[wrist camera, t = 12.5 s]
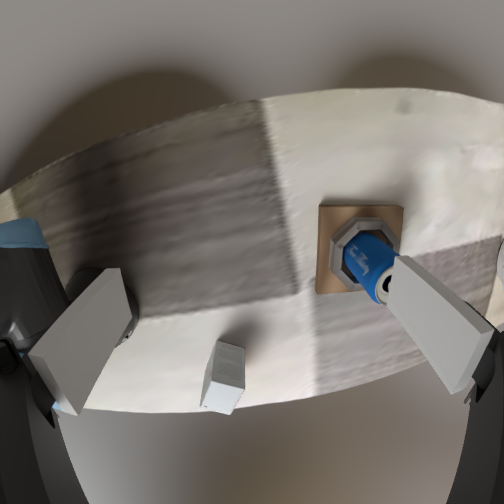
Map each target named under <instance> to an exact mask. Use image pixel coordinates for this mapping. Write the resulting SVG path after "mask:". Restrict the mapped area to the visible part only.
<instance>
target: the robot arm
mask: <svg viewBox="0 0 504 504" xmlns="http://www.w3.org/2000/svg"><path fill="white" fill-rule="evenodd" d="M386 306H387V307H388V308H389V310H390V311H391V312H392V313H393V315H394V316H395V317H396V318H397V320H398V321H399V322H400V324H401V325H402V326H403V328H404V329H405V330H406V331H407V333H408V334H409V335H410V337H411V338H412V339H413V341H414V342H415V343H416V345H417V346H418V348H419V349H420V350H421V352H422V353H423V354H424V356H425V357H426V359H427V360H428V361H429V363H430V364H431V366H432V367H433V368H434V370H435V371H436V373H437V374H438V376H439V377H440V379H441V380H442V381H443V383H444V384H445V386H446V387H447V389H448V390H449V392H450V393H451V394H454V393H456V392H459V391H461V390H463V389H465V388H466V386H467V384H468V383H469V381H470V379H471V377H472V378H473V379H474V380H475V384H474V386H473V388H472V389H471V391H470V392H469V394H468V396H467V397H466V399H465V401H464V403H465V404H466V403H467V401H468V399H470V398H471V402H470V404H469V405H470V411H469V417H468V424H467V430H466V435H465V440H464V444H463V449H462V453H461V457H460V462H459V465H458V469H457V472H456V476H455V479H454V482H453V486H452V489H451V491H450V494H449V497H448V500H447V503H446V504H504V331H502V332H501V333H500V332H499V331H498V330H497V329H496V328H495V327H494V326H493V325H492V324H491V323H490V322H489V321H488V320H486V319H485V318H484V317H483V316H481V314H480V313H479V312H478V311H477V310H476V311H475V309H474V308H473V307H472V306H471V305H470V304H469V303H467V302H465V301H464V300H462V299H461V298H460V297H458V296H457V295H456V294H455V293H454V292H453V291H451V290H450V289H449V288H448V287H447V286H445V285H444V284H443V283H442V282H441V281H439V280H438V279H437V278H436V277H434V276H433V275H432V274H431V273H429V272H428V271H427V270H426V269H424V268H423V267H422V266H421V265H419V264H418V263H417V262H415V261H414V260H413V259H412V258H410V257H409V256H408V255H407V256H395V260H394V266H393V272H392V278H391V284H390V289H389V294H388V299H387V304H386ZM138 318H139V312H138V306H137V303H136V300H135V298H134V296H133V294H132V293H131V291H130V290H129V288H128V287H127V286H126V285H125V284H124V282H123V280H122V276H121V271H120V268H107V269H105V270H103V269H100V268H86V269H83V270H81V271H79V272H78V273H77V274H76V275H74V276H73V277H72V278H71V279H70V281H69V282H68V284H67V286H66V288H65V290H64V288H63V286H62V283H61V281H60V279H59V276H58V274H57V271H56V269H55V266H54V263H53V260H52V258H51V255H50V252H49V246H48V245H47V244H46V241H45V239H44V236H43V234H42V231H41V228H40V226H39V224H38V222H37V221H36V220H34V219H33V218H28V217H26V218H20V219H16V220H12V221H8V222H5V223H1V224H0V504H89V503H88V501H87V499H86V497H85V495H84V492H83V490H82V488H81V485H80V483H79V481H78V478H77V476H76V473H75V471H74V468H73V466H72V463H71V461H70V458H69V455H68V452H67V449H66V446H65V443H64V440H63V437H62V433H61V430H60V426H59V423H58V419H57V415H56V413H55V411H54V409H53V408H55V409H58V410H61V411H63V412H66V413H69V414H73V415H77V416H79V414H80V412H81V410H82V408H83V406H84V404H85V402H86V400H87V398H88V396H89V394H90V392H91V390H92V388H93V387H94V385H95V383H96V381H97V379H98V377H99V375H100V373H101V371H102V370H103V368H104V366H105V364H106V362H107V360H108V359H109V357H110V355H111V353H112V351H113V350H114V348H116V347H117V346H119V345H120V344H121V343H123V342H124V341H126V340H127V339H128V338H129V337H130V336H131V335H132V333H133V331H134V329H135V328H136V326H137V323H138Z"/></svg>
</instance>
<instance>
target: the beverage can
mask: <svg viewBox="0 0 504 504" xmlns="http://www.w3.org/2000/svg"><path fill="white" fill-rule="evenodd" d="M395 256H400V255H399V254H398V253H396V252H395V251H394V250H393V249H391V248H390V247H389V246H387V245H386V244H385V243H384V242H382V241H381V240H380V239H378V238H377V237H376V236H374V235H373V234H370V233H360V234H357V235H355V236H354V237H353V238H352V239H351V240H350V241H349V242H348V243H347V244H346V246H345V249H344V254H343V257H344V262H345V264H346V266H347V267H348V268H349V270H350V271H351V272H352V273H353V275H354V276H355V277H356V279H357V280H358V281H359V282H360V284H361V285H362V286H363V288H364V289H365V290H366V292H367V293H368V294H369V296H370V297H371V298H372V299H373V300H374V301H375V302H376V303H379V304H382V305H384V306H386V304H387V299H388V294H389V289H390V284H391V278H392V272H393V266H394V260H395Z"/></svg>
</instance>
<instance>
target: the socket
mask: <svg viewBox="0 0 504 504" xmlns="http://www.w3.org/2000/svg"><path fill="white" fill-rule="evenodd" d="M403 211H404V208H403V207H401V206H385V205H319V217H318V246H317V266H316V283H315V291H316V293H317V294H328V293H341V292H353V291H364V290H365V289H364V288H363V286H362V285H361V284H360V282H359V281H358V280H357V279H356V277H355V276H354V275H353V273H352V272H351V271H350V270H349V268H348V267H347V266H346V264H345V262H344V257H343V254H344V249H345V246H346V244H347V243H348V242H349V241H350V240H351V239H352V238H353V237H354V236H355V235H357V234H360V233H370V234H373V235H374V236H376V237H377V238H378V239H380V240H381V241H382V242H384V243H385V244H386V245H387V246H389V247H390V248H391V249H393V250H394V251H395V252H396V253H398V254H399V248H400V239H401V230H402V221H403Z"/></svg>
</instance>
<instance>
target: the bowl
mask: <svg viewBox="0 0 504 504" xmlns="http://www.w3.org/2000/svg"><path fill="white" fill-rule="evenodd" d="M497 272H498V276H499V278H500V279H501V281H502V286H503V291H504V241H503V243H502V245H501V248H500V251H499V255H498V260H497Z"/></svg>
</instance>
